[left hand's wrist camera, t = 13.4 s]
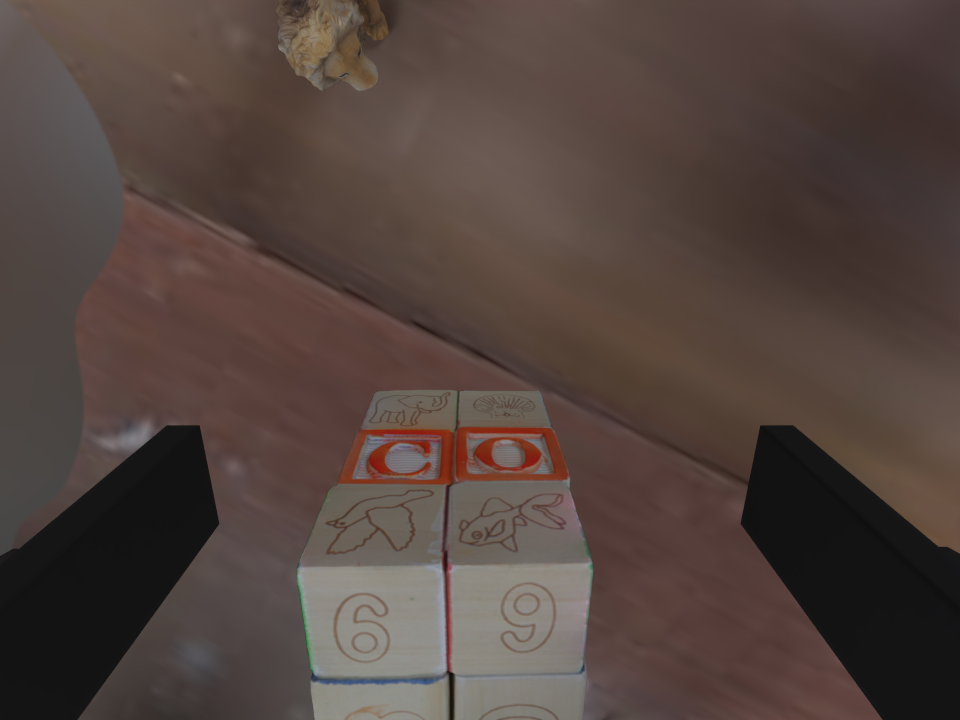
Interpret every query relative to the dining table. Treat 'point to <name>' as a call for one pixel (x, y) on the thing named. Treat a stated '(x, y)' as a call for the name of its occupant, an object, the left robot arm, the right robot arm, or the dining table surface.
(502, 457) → the stack of blocks
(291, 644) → the dining table surface
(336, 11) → the lion figurine
